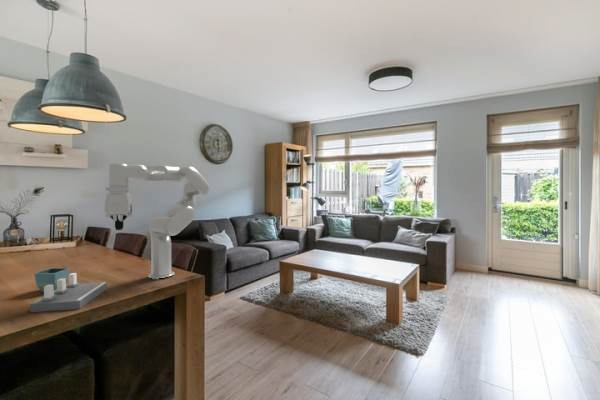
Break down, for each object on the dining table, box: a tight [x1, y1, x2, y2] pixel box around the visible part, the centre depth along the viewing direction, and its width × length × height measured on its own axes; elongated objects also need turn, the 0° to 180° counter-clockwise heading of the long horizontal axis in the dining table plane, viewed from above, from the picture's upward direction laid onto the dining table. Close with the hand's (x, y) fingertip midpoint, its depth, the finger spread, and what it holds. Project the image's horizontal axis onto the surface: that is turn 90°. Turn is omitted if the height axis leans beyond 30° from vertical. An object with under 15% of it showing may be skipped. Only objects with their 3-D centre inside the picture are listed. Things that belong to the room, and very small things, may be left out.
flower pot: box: [34, 267, 70, 293], centre depth 128 cm, size 9×9×9 cm
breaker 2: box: [66, 272, 80, 287], centre depth 124 cm, size 4×3×5 cm
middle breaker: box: [55, 278, 68, 294], centre depth 116 cm, size 4×3×5 cm
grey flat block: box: [29, 281, 108, 313], centre depth 117 cm, size 23×16×3 cm
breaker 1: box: [41, 284, 56, 301], centre depth 109 cm, size 4×3×5 cm
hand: (119, 229), depth 131 cm, fingers closed
